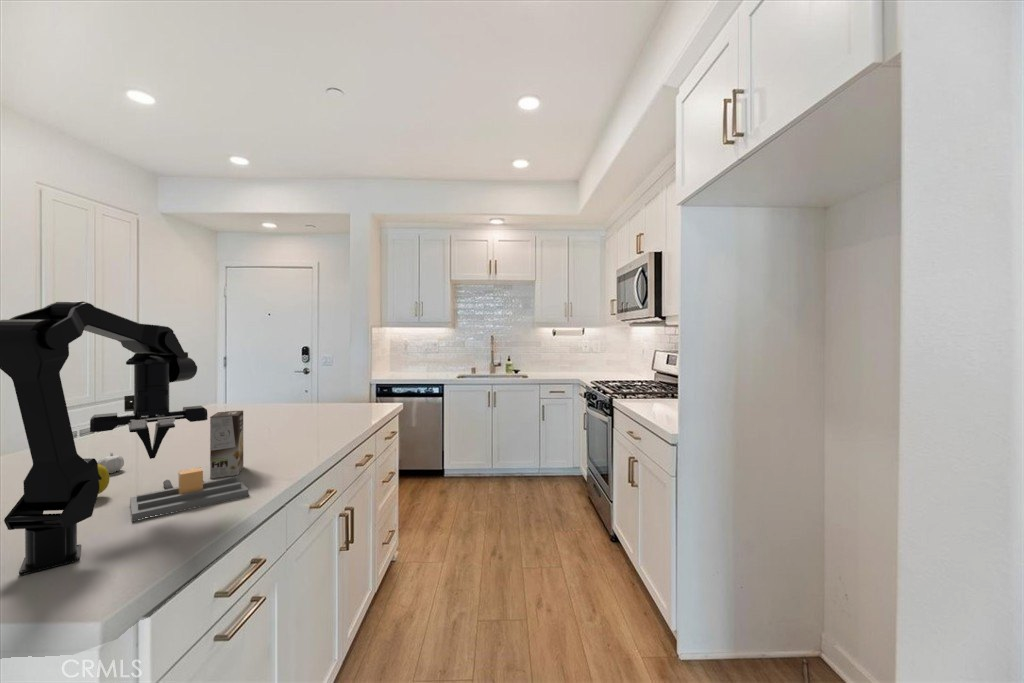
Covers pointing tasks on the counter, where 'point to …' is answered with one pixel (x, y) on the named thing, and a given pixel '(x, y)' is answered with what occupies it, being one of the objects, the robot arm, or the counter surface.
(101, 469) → the lemon
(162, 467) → the counter surface
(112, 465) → the garlic
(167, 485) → the dark grey parallel rods
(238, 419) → the coffee box
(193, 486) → the light orange rectangular block
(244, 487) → the plate
